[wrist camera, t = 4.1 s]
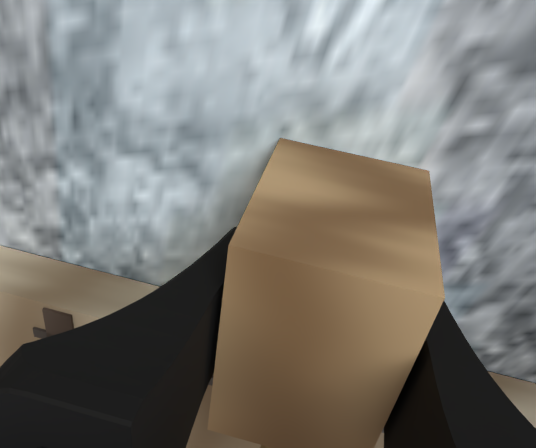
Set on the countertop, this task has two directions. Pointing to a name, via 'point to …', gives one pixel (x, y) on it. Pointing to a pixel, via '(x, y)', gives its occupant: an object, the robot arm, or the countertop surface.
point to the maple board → (109, 301)
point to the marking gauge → (324, 299)
